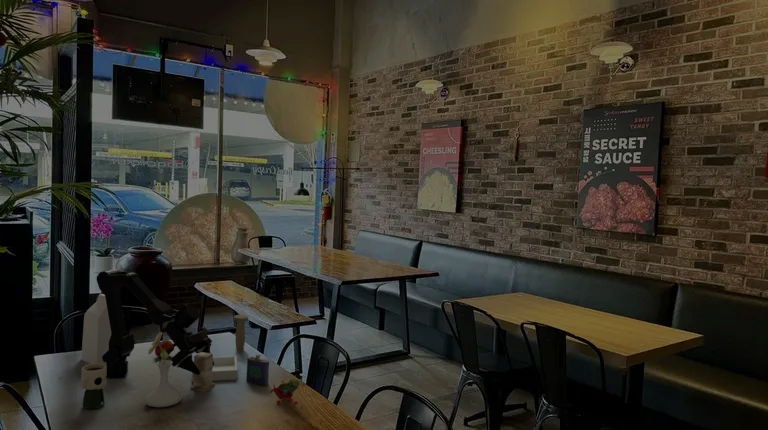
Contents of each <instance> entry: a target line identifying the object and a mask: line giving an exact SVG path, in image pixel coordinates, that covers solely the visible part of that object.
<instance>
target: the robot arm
mask: <svg viewBox="0 0 768 430" xmlns="http://www.w3.org/2000/svg"><path fill="white" fill-rule="evenodd" d="M96 282H97V286H98V289H99V290H100V292H102V293H101V294H104V295H105V298H106V304H107V310H108V316H109V322H110V328H111V337H110V340H109V350H108V351H107V352H106V353H105V354H104V355H103V356H102V359H103V362H107V364H106V367H107V369H106V370H107V373H106V379H121V378H125V377H126V376H127V374H128V372H129V361H128V358H127V357H130V356H131V353H132V352H133V350H134V349H135V345H136V342H135V337H134V336H135V335H134V334H133V333H129V331H128V330H127V329H126V321H125V315H123V314H124V310H123V303H122V298H121V290H122V287H123V285H124V286H126V287H127V288H128V289H129V290H130V292H131V293H132V294H133V295H134V296H135V298H137V299H138V300H139V301H140V303H142V305H143V306H144V307H145V308H146V311H147V316H148V317H149V319H150V320H151V322H152V323H153V324H154V325H156V326H160V330H159V332H160V334H161V332H162V335H164V334H166V335H167V336H168V338H170V340H171V342H172V343H173V347H174V348H175V347H176V348H177V349H178V350H179V351H178V352H177V353H175V354H174V356H172V357H170V359H169V360H170V361H172V362H173V363H172V364H171V366H172V367H173V368H174V367H176V368H180V369H183V370H186V371H188V372H191V374H192V373H194V374H197V375H199V374H200V371H199V369H198V368H197V366H196V365H195V363H194V359H193V354H194V353H195V354H199V353H201V352H204V353H211V346H212V343H213V340H212V338H211V337H209V333H210V332H209V330H208V329H207V328H206V327H205V326H202V327H200V328H198V332H196V333H193V332H192V331H187V329H189V328H190V327H191V326H192V325H193V324H195V323H196V321H197V320H199V318H200V317H201V316H200V312H199V311H198V309H197V308H195V307H194V306H190V305H189V304H188V303H186V304H184V305H182V307H181V309H179V310H177V309H174V308H173V307H172V306H170V305H169V303H167V302H164V301H162V300H161V299H159V298H158V296H156V295H155V294H154V293H153V292H152V291H151V290H150V288H149V287H148V286H147V284H145V283H144V282H143V281H142V279H140V277H139V275H138V273H136V272H130V271H121V270H119V269H116V268H112V269H108V270H103V271H101V272H99V273H98V274H97V276H96ZM172 320H173V321H172ZM166 323H167V324H166ZM164 324H166V325H164ZM213 365H214V361H213ZM213 365H212V366H213Z"/></svg>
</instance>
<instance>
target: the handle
mask: <svg viewBox="0 0 768 430" xmlns="http://www.w3.org/2000/svg"><path fill="white" fill-rule="evenodd" d="M233 320H234V322H236V327H235V328H236V330H235V350H236V351H237V352H243V351H244V350H245V343H246V330H245V329H246V325H245V323H246V322H247V321H248V320H249V316H248V315H243V314H236V315H233Z"/></svg>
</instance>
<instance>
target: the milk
mask: <svg viewBox="0 0 768 430" xmlns="http://www.w3.org/2000/svg"><path fill="white" fill-rule="evenodd" d="M123 315H124V313H123ZM124 316H125V315H124ZM110 337H111V328H110V322H109V316H108V310H107V304H106V298H105V295H104V294H103V293H99V294H98V297H97V300H96V302H95V303H93V304H92V305H91V306H90V307H89V308H88V309H87V310H86V312H84V317H83V330H82V344H81V345H82V346H81V358H80V359H81V361H84V362H86V363H89V364H97V363H99V364H105V365H107V362H103V359H102V356H103V355H104V354H105V353H106V352H107V351H108V350H109V340H110Z"/></svg>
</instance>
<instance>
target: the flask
mask: <svg viewBox="0 0 768 430" xmlns="http://www.w3.org/2000/svg"><path fill="white" fill-rule="evenodd" d="M261 357H262V356H261V354H255V355H254V356H249V357H247V360H246V361H247V362H246V376H245V377H246V378H245V379H246V380H245V381H246V383H249V384H252V385H256V386H265V387H266V386H268V385H269V370H270V360H268V359H260V358H261Z"/></svg>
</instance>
